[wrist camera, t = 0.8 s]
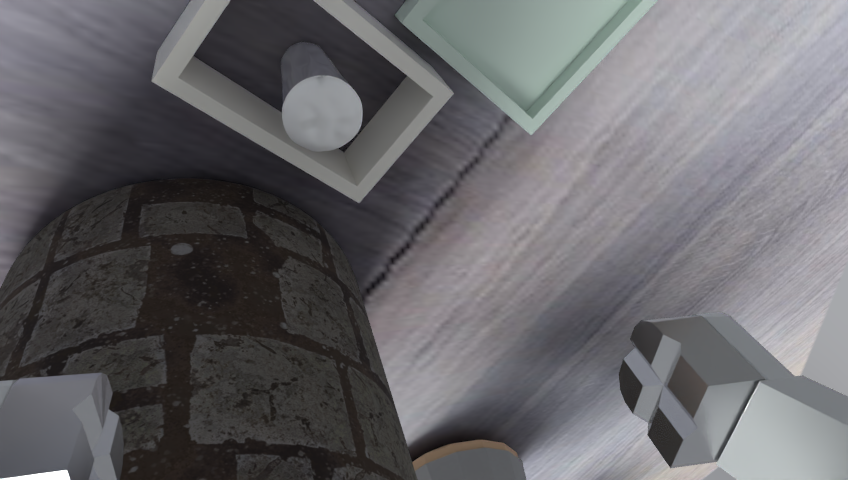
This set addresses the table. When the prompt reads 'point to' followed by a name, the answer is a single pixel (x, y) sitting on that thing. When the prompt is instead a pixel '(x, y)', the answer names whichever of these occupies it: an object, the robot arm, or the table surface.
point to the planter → (208, 334)
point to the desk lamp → (470, 462)
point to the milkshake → (317, 100)
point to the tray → (523, 45)
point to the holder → (264, 122)
